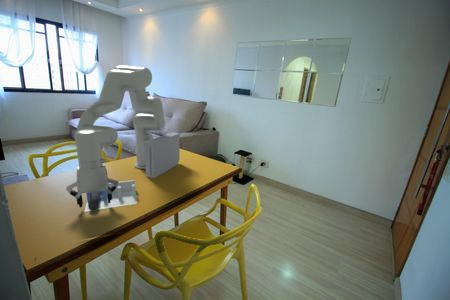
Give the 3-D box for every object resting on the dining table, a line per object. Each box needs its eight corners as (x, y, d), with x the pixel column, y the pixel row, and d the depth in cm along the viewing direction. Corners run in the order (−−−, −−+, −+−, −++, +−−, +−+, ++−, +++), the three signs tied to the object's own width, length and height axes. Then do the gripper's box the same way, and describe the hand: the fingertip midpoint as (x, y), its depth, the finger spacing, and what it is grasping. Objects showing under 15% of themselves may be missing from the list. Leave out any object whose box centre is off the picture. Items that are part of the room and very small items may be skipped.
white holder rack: (89, 193, 97) (88, 182, 96) (135, 187, 105) (134, 177, 104) (84, 212, 83) (82, 200, 82) (137, 204, 91) (136, 192, 90)
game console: (144, 177, 117) (142, 141, 111) (171, 161, 142) (171, 132, 136) (153, 179, 115) (152, 143, 109) (179, 163, 140) (179, 133, 134)
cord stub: (94, 198, 93) (89, 193, 91) (101, 194, 94) (97, 189, 92) (91, 211, 84) (86, 206, 83) (100, 207, 85) (95, 201, 84)
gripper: (116, 158, 87) (119, 195, 92) (64, 161, 80) (71, 202, 85) (116, 164, 81) (119, 204, 86) (60, 169, 74) (67, 212, 79)
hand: (95, 203), depth 86 cm, fingers open, 9 cm apart
